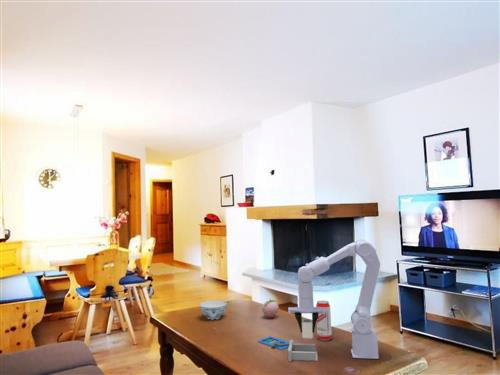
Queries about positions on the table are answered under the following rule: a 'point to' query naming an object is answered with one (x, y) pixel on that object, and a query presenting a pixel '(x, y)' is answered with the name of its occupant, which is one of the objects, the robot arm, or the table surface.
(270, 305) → the decorative fruit
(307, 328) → the block
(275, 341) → the handheld gaming device
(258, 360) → the table surface
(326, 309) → the beer can
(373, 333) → the robot arm
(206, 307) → the chinaware
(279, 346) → the dark gray rod
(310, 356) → the dock
